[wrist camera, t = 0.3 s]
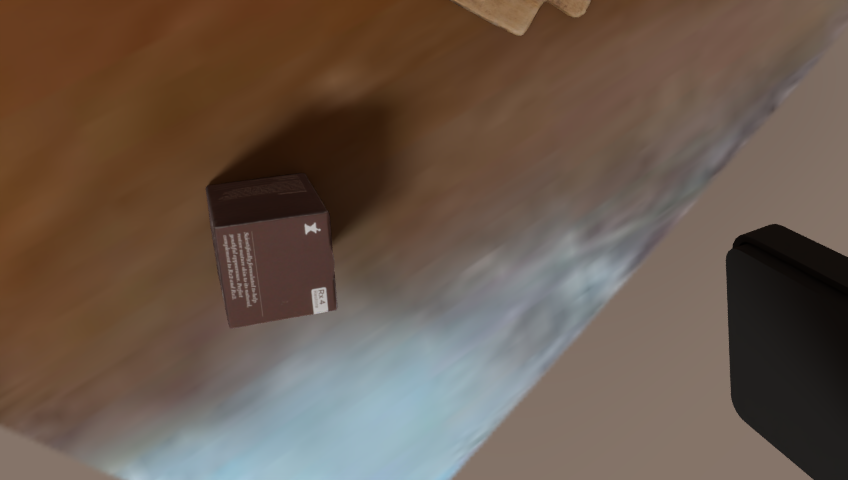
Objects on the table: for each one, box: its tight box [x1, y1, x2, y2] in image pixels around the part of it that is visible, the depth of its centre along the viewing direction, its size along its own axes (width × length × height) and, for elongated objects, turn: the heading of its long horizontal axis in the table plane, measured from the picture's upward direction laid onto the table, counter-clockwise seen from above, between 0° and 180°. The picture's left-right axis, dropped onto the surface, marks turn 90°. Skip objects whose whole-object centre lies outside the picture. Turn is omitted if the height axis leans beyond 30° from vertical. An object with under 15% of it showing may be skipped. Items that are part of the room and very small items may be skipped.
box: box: [206, 173, 338, 329], centre depth 44 cm, size 6×6×7 cm
